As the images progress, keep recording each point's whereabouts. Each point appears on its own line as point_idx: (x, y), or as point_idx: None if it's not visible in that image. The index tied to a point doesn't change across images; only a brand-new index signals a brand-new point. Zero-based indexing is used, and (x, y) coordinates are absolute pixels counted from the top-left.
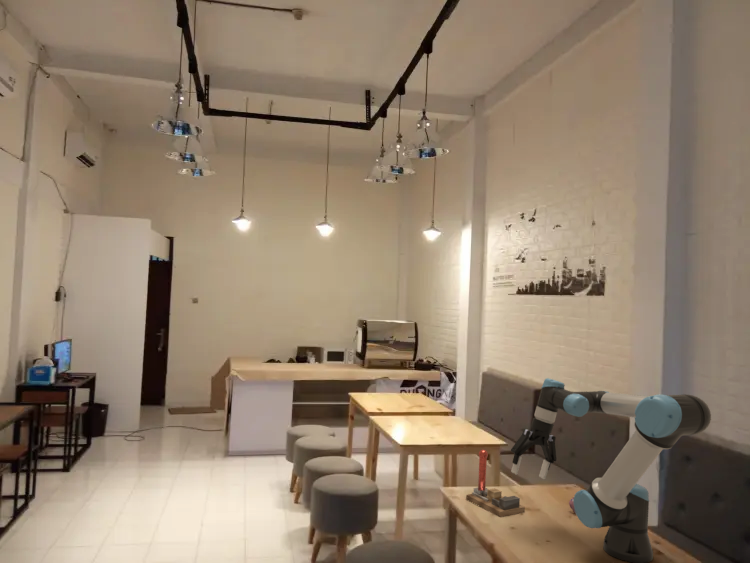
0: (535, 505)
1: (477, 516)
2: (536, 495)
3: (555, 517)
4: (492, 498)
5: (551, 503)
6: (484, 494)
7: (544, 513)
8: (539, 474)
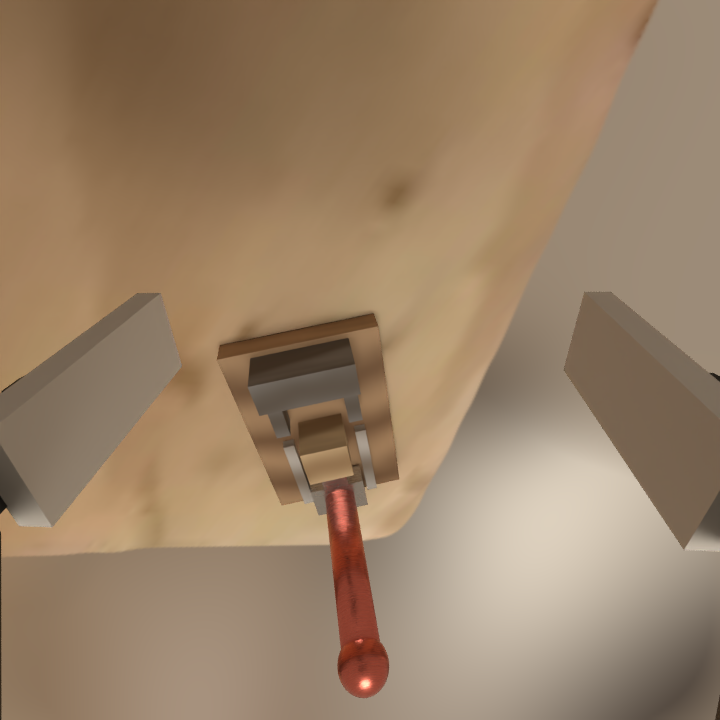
0: None
1: (463, 335)
2: None
3: (68, 262)
4: (344, 430)
5: None
6: None
7: None
8: (172, 376)
